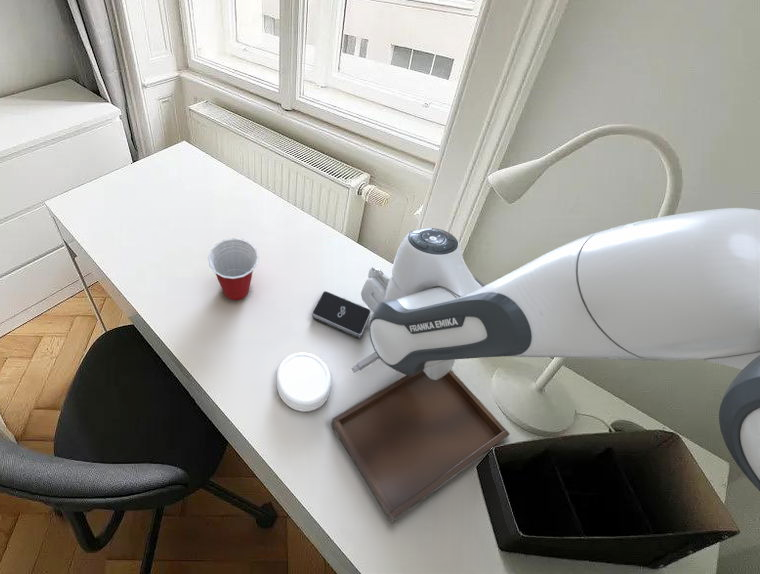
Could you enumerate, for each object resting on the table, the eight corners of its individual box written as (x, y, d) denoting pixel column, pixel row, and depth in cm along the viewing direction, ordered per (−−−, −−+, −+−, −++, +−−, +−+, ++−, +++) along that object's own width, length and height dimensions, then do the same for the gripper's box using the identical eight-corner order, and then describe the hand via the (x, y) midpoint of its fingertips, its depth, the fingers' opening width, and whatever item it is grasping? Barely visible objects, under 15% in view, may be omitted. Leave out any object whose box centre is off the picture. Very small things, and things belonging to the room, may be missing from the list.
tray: (504, 439, 69) (510, 433, 67) (391, 523, 61) (394, 518, 59) (435, 362, 80) (438, 356, 78) (331, 424, 71) (332, 418, 70)
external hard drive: (359, 340, 84) (360, 335, 82) (310, 318, 88) (310, 313, 87) (370, 315, 88) (371, 310, 87) (322, 295, 93) (323, 290, 91)
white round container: (286, 419, 72) (286, 411, 70) (270, 368, 80) (270, 358, 77) (338, 403, 74) (340, 394, 72) (317, 354, 82) (319, 345, 79)
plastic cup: (223, 317, 89) (218, 283, 81) (206, 282, 96) (201, 247, 89) (267, 299, 92) (267, 264, 84) (248, 266, 100) (246, 231, 92)
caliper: (430, 327, 84) (438, 308, 80) (434, 331, 83) (443, 313, 79) (350, 369, 77) (355, 351, 73) (353, 374, 76) (359, 356, 72)
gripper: (358, 268, 76) (349, 312, 85) (441, 359, 62) (420, 400, 71) (384, 256, 79) (373, 300, 87) (470, 342, 64) (447, 383, 73)
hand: (395, 346), depth 79 cm, fingers closed on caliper, 1 cm apart
